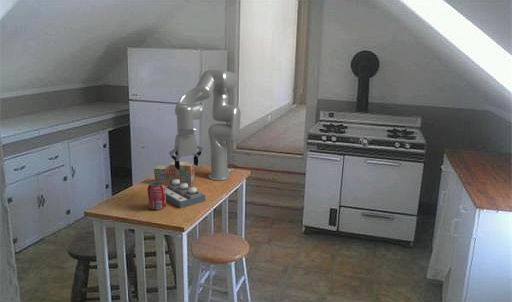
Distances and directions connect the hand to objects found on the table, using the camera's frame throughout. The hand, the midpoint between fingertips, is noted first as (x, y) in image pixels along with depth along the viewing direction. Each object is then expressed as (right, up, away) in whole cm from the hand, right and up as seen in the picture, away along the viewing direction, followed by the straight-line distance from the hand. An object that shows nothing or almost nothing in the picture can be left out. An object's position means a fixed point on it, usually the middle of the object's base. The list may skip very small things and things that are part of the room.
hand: (186, 166), depth 190 cm
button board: (-4, -16, +9) cm, 19 cm away
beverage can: (-13, -19, -3) cm, 24 cm away
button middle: (-3, -11, +9) cm, 14 cm away
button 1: (-8, -10, +15) cm, 19 cm away
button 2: (+2, -13, +3) cm, 13 cm away
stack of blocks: (-12, -11, +29) cm, 34 cm away
